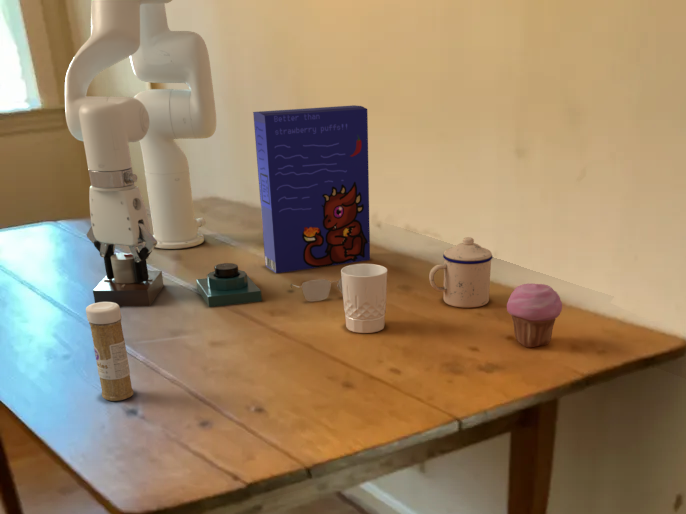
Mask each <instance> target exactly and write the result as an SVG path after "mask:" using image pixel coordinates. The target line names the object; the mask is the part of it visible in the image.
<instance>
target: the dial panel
mask: <svg viewBox="0 0 686 514" xmlns="http://www.w3.org/2000/svg"><path fill="white" fill-rule="evenodd" d="M148 277H149V279H148V280H147V281H144V282H142V283H140V284H139V283H130V284H120V283H116V282H115V280H114V278H113V279H107V275H106V274H105V276H104V278H102V280H100V282H99V283H98V284H97V286H96V287H95V288H94V289H92V294H93V299H94V303H98V302H113V303H116V304H118V305H119V307H151V305H152V304H153V302H154V301H155V300H156V298H157V297H158V295H159V293H160V292H161V291H162V289H163V287H164V286H165V285H164V279H163V271H162V270H148Z"/></svg>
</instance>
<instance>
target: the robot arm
mask: <svg viewBox="0 0 686 514" xmlns="http://www.w3.org/2000/svg"><path fill="white" fill-rule="evenodd" d="M171 2H173V0H91V1H90V3H91V4H90V6H91V7H90V8H91V9H90V17H91V18H90V26H91V27H90V35H89V37H88V39H87V40H86V41H84V43H83V44H82V45H81V46H80V48H79V49H78V50H77V52H76V53H75V54H74V56H73V58H72V60H71V62H70V63H69V66H68V68H67V71H66V75H65V79H64V80H65V82H64V110H65V111H64V113H65V121H66V125H67V128H68V131H69V132H70V134H71V136H72V137H74V139H76V140H77V141H81V142H83V146H84V152H85V158H86V163H87V169H88V176H89V180H90V186H89V188H88V189H89V193H88V194H89V195H88V196H89V197H88V198H89V200H88V201H89V202H88V203H89V214H90V223H91V226H90V228H89V229H88V231H87V233H86V237H87V239H88V240H89V241H90V242H91V243H92V244H93V246H94V247H95V249H96V250H97V251H98V253H99V255H100V257H101V258H102V259H103V262H104V268H105V269H104V270H105V276H106V275H107V279H113V278H114V274H113V269H112V263H111V256H112V255H115V254H116V253H115V250H116V246H123V247H128V249H129V251H130V253H132V255H133V257H134V260H135V261H134V262H133V270H134V277H135V282H136V283H139V284H140V283H142V282H144V281H147V280H148V279H149V277H148V271H149V269H148V264H147V260H148V259H149V258H150V255H151V253H152V252H153V250H154V249H155V248H157V249H162V250H163V249H165V250H178V249H187V248H193V247H197V246H199V245H201V244H203V243H204V241H205V237H204V234H202V233H201V232H199V228H202V227H205V226H206V224H207V220H206V219H205V218H204V217H203V216H201V217H199V218H197V217H196V216H195V210H194V209H195V208H194V201H193V191H192V185H191V184H192V183H191V175H190V167H189V161H188V158H187V155H186V153H185V152H184V150H182V148H181V147H180V146H179V144H178V143H177V142H176V140H179V139H181V140H182V139H183V140H184V139H190V140H191V139H193V140H194V139H195V140H197V139H208V138H210V137H212V136H213V135H214V134H215V132H216V130H217V112H216V111H217V109H216V102H215V93H214V85H213V78H212V69H211V62H210V56H209V51H208V47H207V44H206V42H205V39H204V38H203V37H202V36H201V35H200V34H199V33H198V32H195V31H190V30H171V29H170V28H169V24H168V17H167V10H166V4H170V3H171ZM127 58H129V59H130V64H131V68H132V72H133V74H134V75H135V77H136V78H137V79H138V80H139V81H141V82H144V83H153V84H185V85H187V87H188V89H173V88H165V89H164V88H151V89H150V88H149V89H145V90H141V91H139V92H138V93H136V94H135V95H134V96H133V97H131V96H111V95H110V96H108V95H107V96H106V95H104V96H103V95H100V96H99V95H93V96H92V95H91V96H90V95H88V94H87V93H88V90H89V87H90V85H91V84H92V82H93V80H94V79H95V78H96V77H97V76H98V75H100V73H102V72H104V71H105V70H107V69H109V68H110V67H112V66H114V65H116V64H118V63H119V62H120V63H121V62H122V61H124V60H125V59H127ZM137 142H139V146H140V150H141V155H142V162H143V170H144V176H145V182H146V183H145V184H146V190H147V196H148V203H149V204H148V205H149V212H150V217H151V224H152V231H153V234H152V233H151V227H150V222H149V217H148V213H147V208H146V205H145V201H144V199H143V198H144V197H143V195H142V192H141V190H140V188H139V186H136V185H135V183H137V182H138V176H137V174H136V173H135V174H134V171H133V166H132V158H131V152H130V145H129V143H137ZM144 243H145V244H144Z"/></svg>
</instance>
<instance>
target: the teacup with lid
mask: <svg viewBox="0 0 686 514" xmlns="http://www.w3.org/2000/svg"><path fill="white" fill-rule="evenodd" d="M442 258H443V260H444V261H443V263H440V264H436V265H434V266H433V267H432V268H431V269H430V271H429V275H428V279H429V283H430V285H431V287H432V288H433V289H434V290H435V291H436V292H441V293H443V302H444V303H445V304H446V305H449V306H451V307H455V308H463V309H473V308H478V307H482V306H486V305H487V304H488V303H489V301H490V291H491V289H490V288H491V269H492V259H493V253H492V251H491V250H489V249H488V248H486V247H482V246H481V245H479V244H478V243H475V239H474V238H473V237H471V236H470V237H469V236H468V237H464V238H463V239H462V242H461V243H458V244H456V245H455V246H452V247H449V248H447V249H445V250H444V252H443V254H442ZM440 270H443V286H438V285H437V284H436V282H435V274H436V273H437V272H438V271H440Z"/></svg>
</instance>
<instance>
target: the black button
mask: <svg viewBox="0 0 686 514" xmlns="http://www.w3.org/2000/svg"><path fill="white" fill-rule="evenodd" d="M213 267H214V271H215V277H217V278H234V277H237V276H239V273H238V270H239V265H238V264H236V263H233V262H232V263H231V262H224V263H218V264H215V265H214V266H213Z"/></svg>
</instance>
